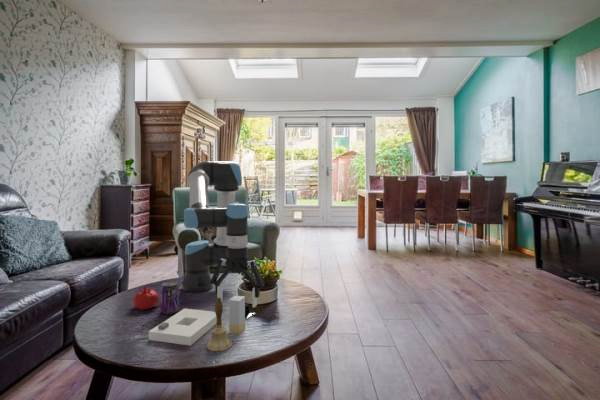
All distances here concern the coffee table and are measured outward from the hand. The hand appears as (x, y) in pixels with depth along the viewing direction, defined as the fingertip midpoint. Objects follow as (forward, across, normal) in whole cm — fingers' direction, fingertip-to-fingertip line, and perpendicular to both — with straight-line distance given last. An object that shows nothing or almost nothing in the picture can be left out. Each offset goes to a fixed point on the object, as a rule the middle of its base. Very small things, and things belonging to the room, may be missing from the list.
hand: (237, 304), depth 128 cm
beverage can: (+10, -34, +9) cm, 37 cm away
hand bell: (+10, -1, -12) cm, 16 cm away
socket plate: (+10, -18, -4) cm, 21 cm away
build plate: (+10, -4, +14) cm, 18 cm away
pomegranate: (+10, -47, +11) cm, 49 cm away
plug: (+10, 0, 0) cm, 10 cm away
